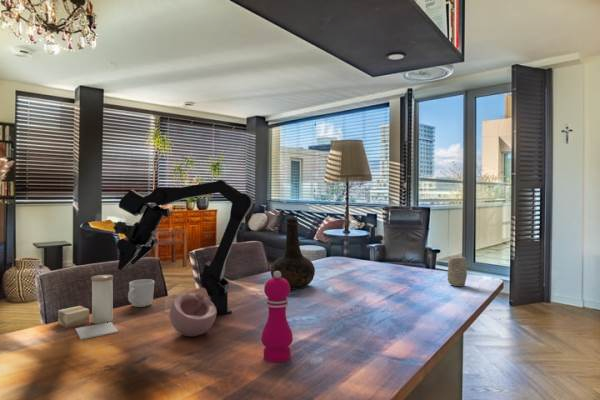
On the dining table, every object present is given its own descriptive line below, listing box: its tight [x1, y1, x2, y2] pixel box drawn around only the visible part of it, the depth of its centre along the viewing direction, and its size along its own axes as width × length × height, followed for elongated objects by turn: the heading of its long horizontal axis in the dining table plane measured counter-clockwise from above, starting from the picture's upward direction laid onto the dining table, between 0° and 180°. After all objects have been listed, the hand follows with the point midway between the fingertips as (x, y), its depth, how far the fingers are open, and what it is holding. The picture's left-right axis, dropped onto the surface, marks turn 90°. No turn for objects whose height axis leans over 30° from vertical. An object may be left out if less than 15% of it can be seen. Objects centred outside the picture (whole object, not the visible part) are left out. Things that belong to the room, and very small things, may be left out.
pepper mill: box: [261, 271, 294, 363], centre depth 89 cm, size 7×7×20 cm
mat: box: [75, 321, 119, 341], centre depth 106 cm, size 9×9×1 cm
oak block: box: [57, 305, 90, 329], centre depth 112 cm, size 6×6×4 cm
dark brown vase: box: [270, 217, 316, 290], centre depth 157 cm, size 18×18×28 cm
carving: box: [447, 255, 468, 287], centre depth 160 cm, size 6×8×12 cm
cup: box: [127, 278, 156, 308], centre depth 129 cm, size 11×8×8 cm
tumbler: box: [90, 274, 114, 325], centre depth 114 cm, size 6×6×13 cm
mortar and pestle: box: [169, 292, 217, 337], centre depth 103 cm, size 12×12×12 cm
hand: (125, 266), depth 122 cm, fingers open, 9 cm apart
